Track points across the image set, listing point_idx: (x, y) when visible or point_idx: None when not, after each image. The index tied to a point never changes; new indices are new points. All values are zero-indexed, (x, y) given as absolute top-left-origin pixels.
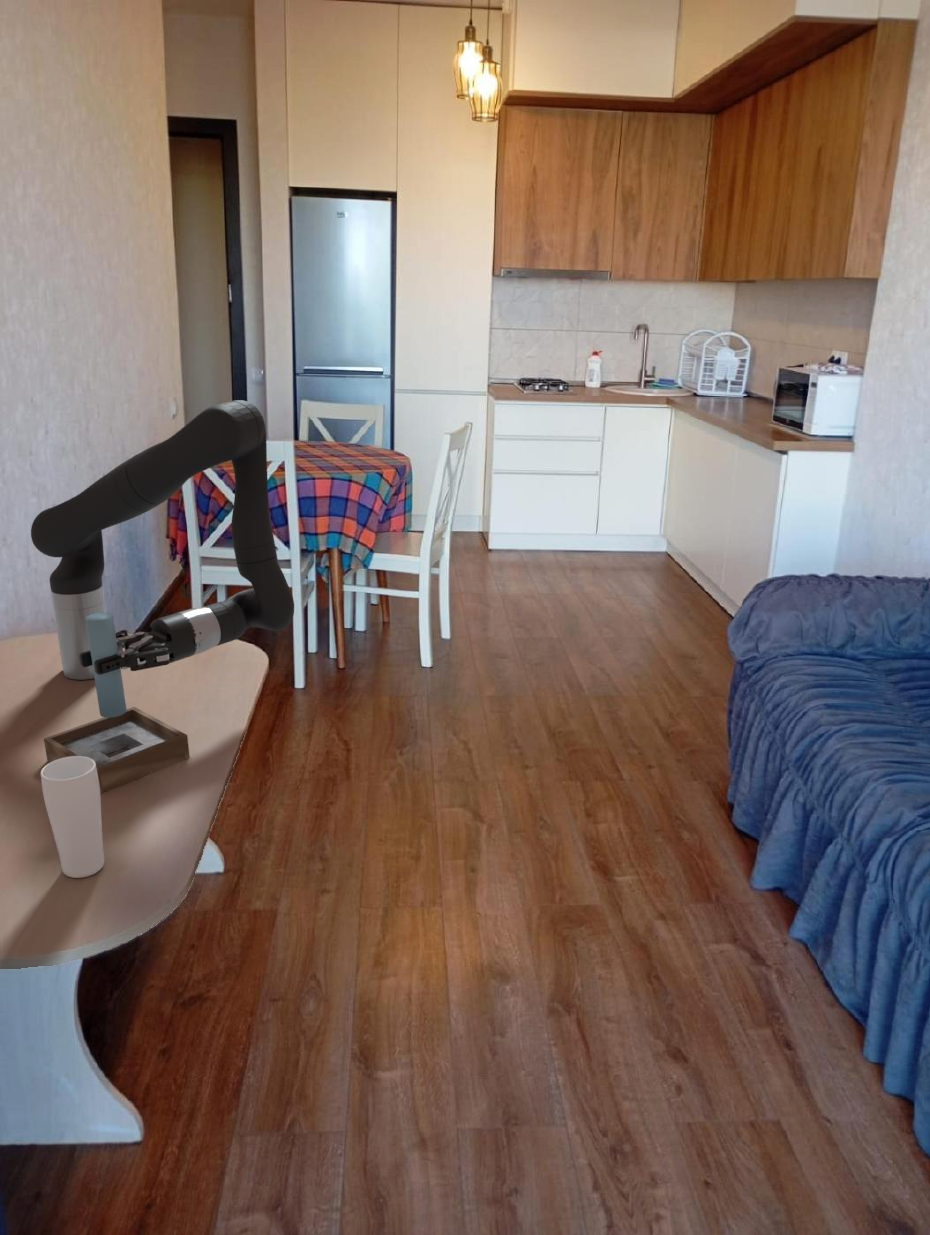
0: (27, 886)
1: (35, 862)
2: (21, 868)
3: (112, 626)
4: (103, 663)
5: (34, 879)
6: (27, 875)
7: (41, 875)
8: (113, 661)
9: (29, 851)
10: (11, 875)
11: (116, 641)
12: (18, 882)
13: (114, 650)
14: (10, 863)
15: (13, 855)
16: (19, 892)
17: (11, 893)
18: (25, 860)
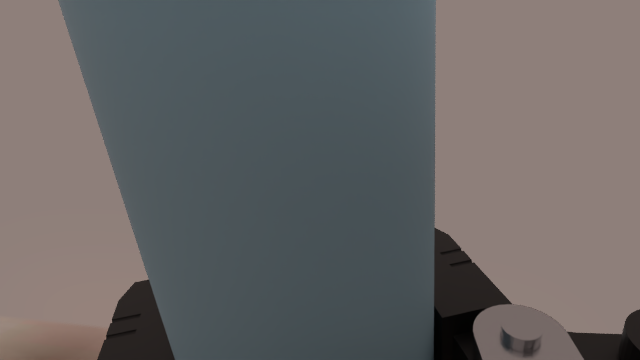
0: (5, 336)
1: (49, 354)
2: (58, 336)
3: (77, 33)
4: (138, 293)
5: (8, 346)
6: (30, 340)
7: (4, 356)
8: (99, 355)
9: (90, 351)
10: (57, 323)
11: (193, 303)
12: (29, 328)
13: (169, 336)
14: (89, 326)
15: (106, 331)
16: (5, 327)
17: (17, 319)
18: (72, 343)
